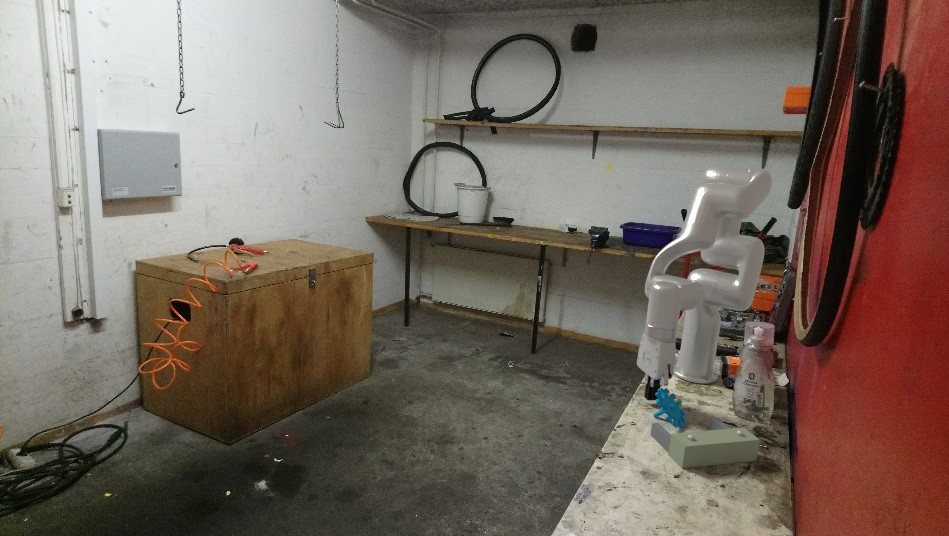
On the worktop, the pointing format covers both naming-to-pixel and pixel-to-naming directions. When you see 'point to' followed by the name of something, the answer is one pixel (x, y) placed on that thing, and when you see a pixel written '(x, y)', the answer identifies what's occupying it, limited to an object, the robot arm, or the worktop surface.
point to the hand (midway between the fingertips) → (651, 398)
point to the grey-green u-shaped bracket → (708, 445)
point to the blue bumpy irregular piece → (670, 408)
